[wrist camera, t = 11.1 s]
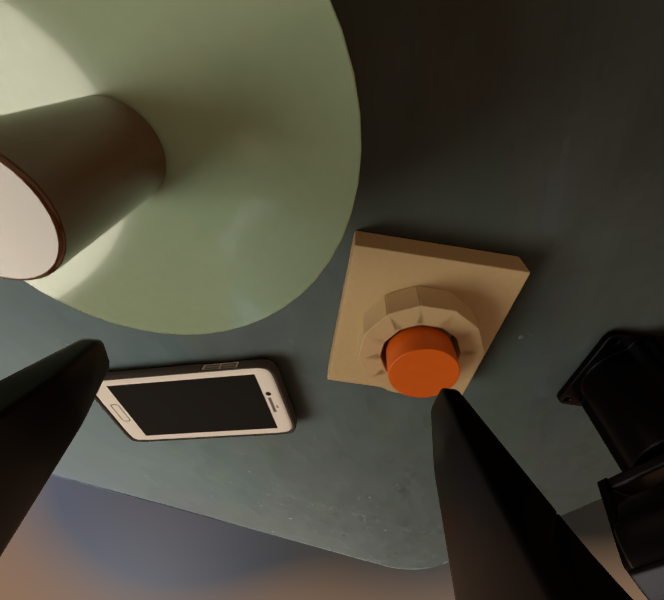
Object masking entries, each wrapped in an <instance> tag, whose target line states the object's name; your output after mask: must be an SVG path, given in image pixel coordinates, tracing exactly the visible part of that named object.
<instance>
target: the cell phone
mask: <svg viewBox="0 0 664 600" xmlns="http://www.w3.org/2000/svg"><path fill="white" fill-rule="evenodd" d="M95 400H96V401H97V402H98V403H99V405H100V406H101V407H102V408H103V409H104V410H105V412H106V413H107V414H108V415H109V416H110V417H111V419H112V420H113V421H114V422H115V423H116V424H117V426H118V427H119V428H120V429H121V430H122V431H123V433H124V434H125V435H126V436H127V437H128V438H130V439H131V440H133V441H137V442H149V441H167V440H186V439H204V438H222V437H241V436H259V435H278V434H287V433H291V432H293V431H294V430H295V428H296V424H297V419H296V415H295V412H294V410H293V407H292V404H291V402H290V399H289V396H288V394H287V391H286V388H285V386H284V383H283V380H282V378H281V375H280V372H279V370H278V368H277V366H276V365H275V363H274V362H272V361H270V360H266V359H257V360H242V361H239V362H230V363H219V364H208V365H205V364H194V365H183V366H172V367H160V368H149V369H138V370H127V371H116V372H107V374H106V376H105V378H104V380H103V382H102V384H101V386H100V389H99V391H98V393H97V395H96V397H95Z"/></svg>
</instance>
